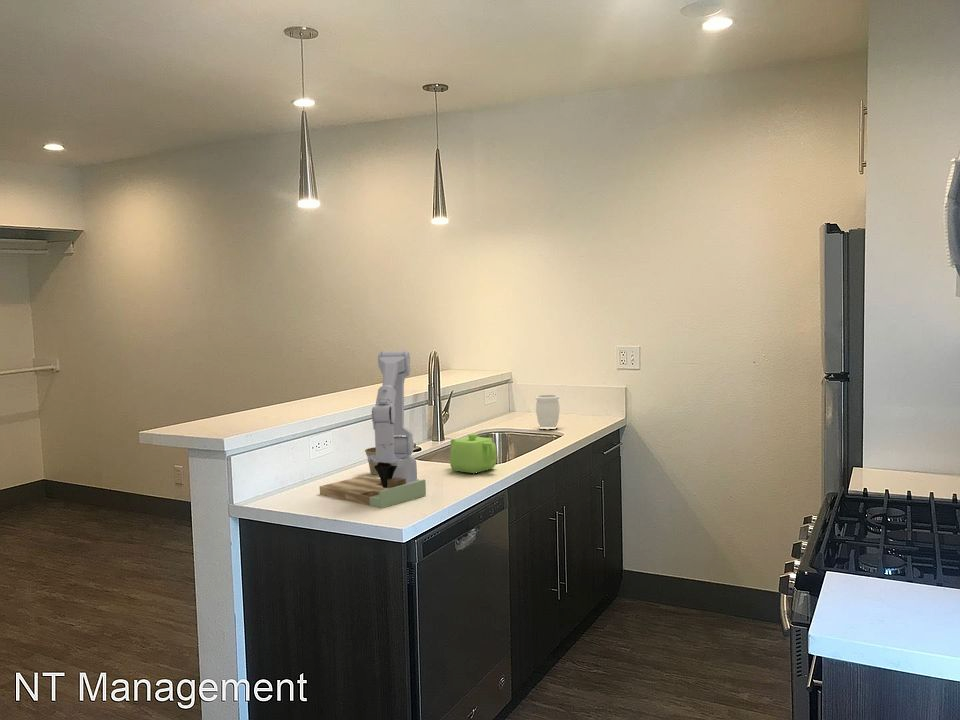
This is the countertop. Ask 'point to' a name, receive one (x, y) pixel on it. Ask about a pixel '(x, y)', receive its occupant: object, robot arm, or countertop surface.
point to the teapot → (472, 454)
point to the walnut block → (395, 482)
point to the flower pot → (371, 464)
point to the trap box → (373, 491)
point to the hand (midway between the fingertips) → (386, 487)
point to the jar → (547, 410)
